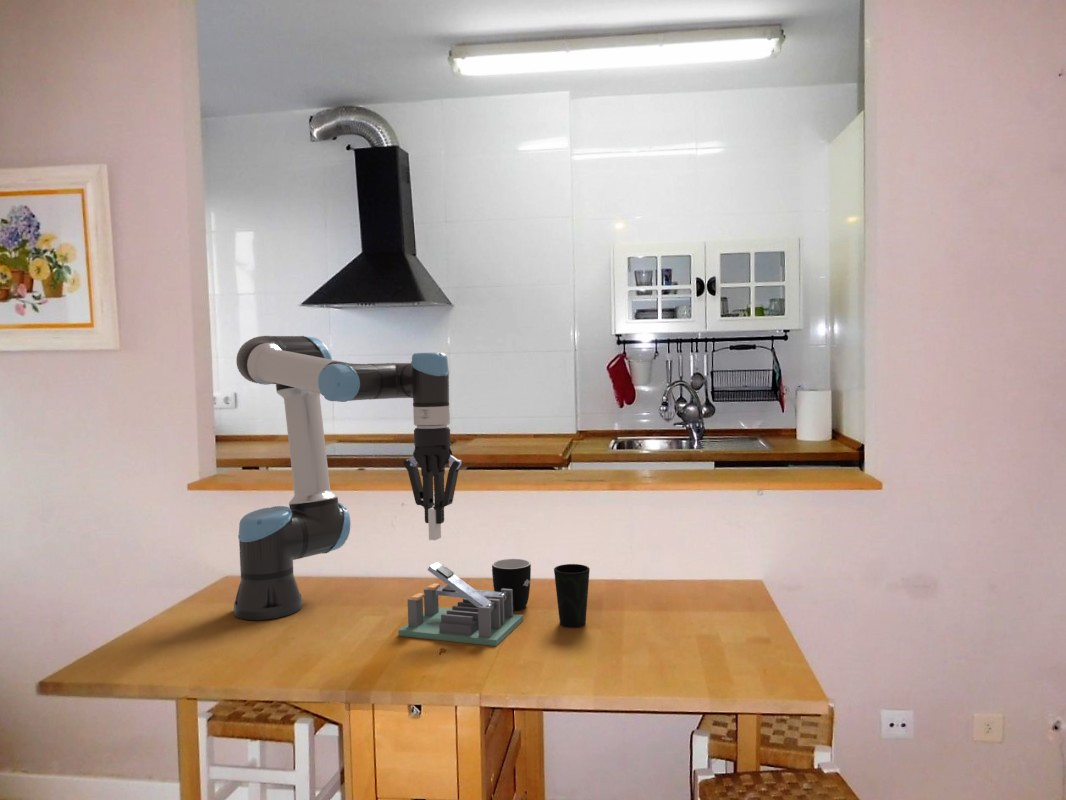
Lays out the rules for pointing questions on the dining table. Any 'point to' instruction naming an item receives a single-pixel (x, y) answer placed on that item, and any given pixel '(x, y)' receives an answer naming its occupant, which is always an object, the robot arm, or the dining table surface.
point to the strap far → (452, 593)
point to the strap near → (460, 586)
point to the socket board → (460, 619)
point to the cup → (572, 594)
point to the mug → (513, 579)
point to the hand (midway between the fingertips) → (435, 538)
